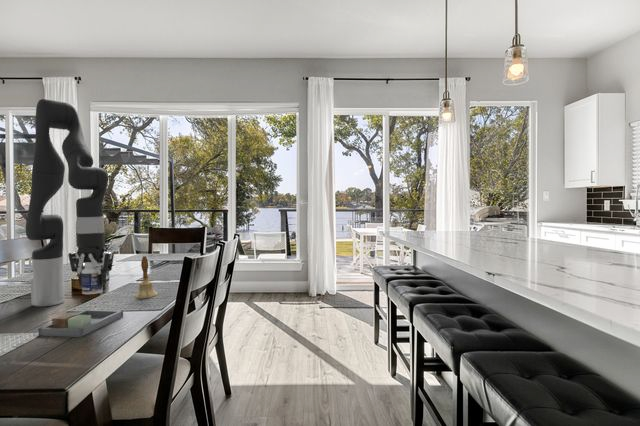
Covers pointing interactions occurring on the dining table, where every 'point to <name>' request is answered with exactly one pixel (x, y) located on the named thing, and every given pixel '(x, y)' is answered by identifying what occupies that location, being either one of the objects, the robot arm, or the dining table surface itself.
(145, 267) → the hand bell
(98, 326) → the parts tray
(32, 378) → the dining table surface
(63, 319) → the walnut block
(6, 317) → the dining table surface
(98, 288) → the pill bottle
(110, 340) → the dining table surface
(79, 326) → the sage block
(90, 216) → the robot arm
